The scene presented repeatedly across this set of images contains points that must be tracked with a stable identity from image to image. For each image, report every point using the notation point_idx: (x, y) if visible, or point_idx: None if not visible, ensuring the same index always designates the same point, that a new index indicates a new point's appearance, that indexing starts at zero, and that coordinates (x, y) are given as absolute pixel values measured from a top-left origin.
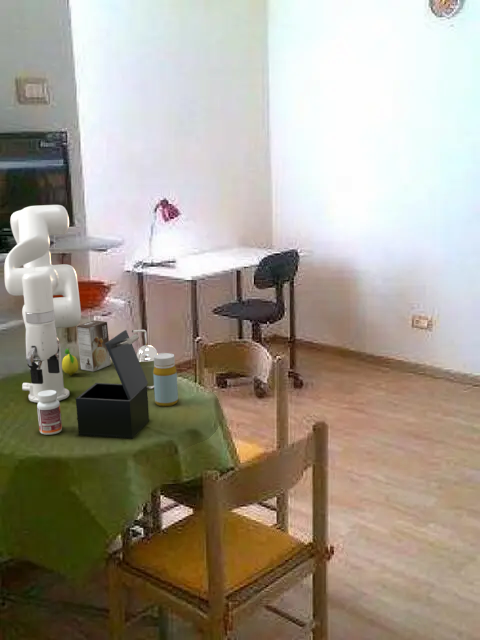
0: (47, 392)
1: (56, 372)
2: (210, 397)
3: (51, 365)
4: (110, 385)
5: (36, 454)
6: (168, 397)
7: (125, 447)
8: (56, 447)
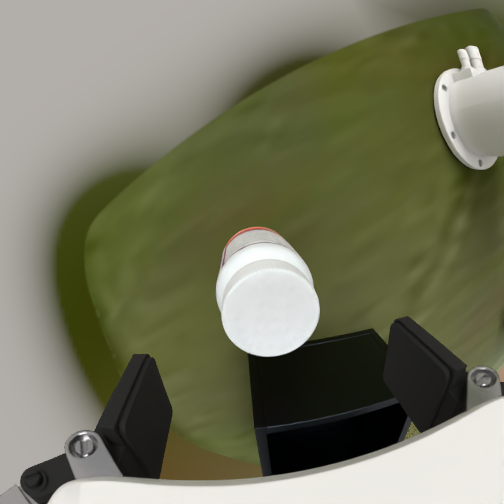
0: (282, 311)
1: (385, 373)
2: None
3: (415, 374)
4: (401, 425)
5: (108, 309)
6: None
7: (219, 443)
8: (160, 334)
